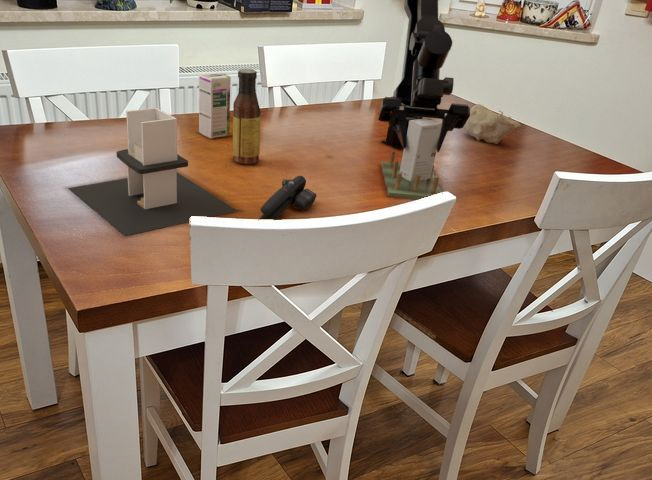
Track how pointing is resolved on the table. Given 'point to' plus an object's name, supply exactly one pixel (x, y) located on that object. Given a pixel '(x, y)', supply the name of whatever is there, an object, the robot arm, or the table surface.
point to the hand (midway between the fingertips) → (421, 149)
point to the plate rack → (407, 182)
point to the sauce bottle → (246, 120)
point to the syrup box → (214, 104)
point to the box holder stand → (150, 180)
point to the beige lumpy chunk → (489, 124)
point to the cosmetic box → (420, 148)
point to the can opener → (288, 198)
